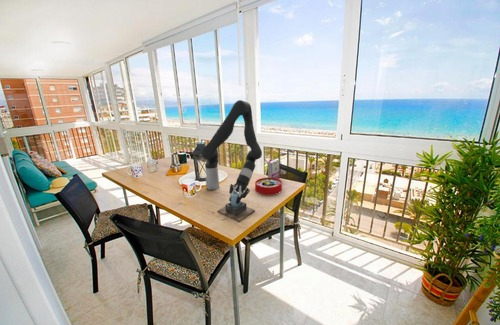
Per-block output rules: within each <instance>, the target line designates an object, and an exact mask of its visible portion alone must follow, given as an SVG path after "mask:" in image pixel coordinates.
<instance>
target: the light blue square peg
mask: <svg viewBox="0 0 500 325" xmlns="http://www.w3.org/2000/svg"><path fill="white" fill-rule="evenodd" d="M230 196H231V206H232V207H235V208H237V207H239V206H240V205H241V202H242V201H241V202H240V203H239V204H237V203H236V200H237V198H238V197H239V192H238V193H233V194H232V195H231V194H230Z"/></svg>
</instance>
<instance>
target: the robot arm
mask: <svg viewBox="0 0 500 325" xmlns="http://www.w3.org/2000/svg"><path fill="white" fill-rule="evenodd" d="M252 113H253V112H252V107H251V104H250V102H248V101H245V100H242V99H239V100H237V101H236V102H234V103H233V105H232V107H231V109H230V111H229V113H228V114H227V116H226V118H225V119H224V120H223V121H222V123H221V125H219V127H218V129H217V130H216V131H215V133H214V134H213V136H212V137H211V139H210V141H209V142H208V143H207V144H206V145H205V146H204V147H203V148H202V151H201V157H202V159H204V160H207V161H206V162H205V163H204V164H205V165H204V166H205V167H204V168H205V186H206V189H207V190H210V191H211V190H212V191H215V190H218V189H219V188H220V180H219V179H220V178H219V168H218V164H219V153H218V152H219V151H218V148H219V147H221V145H223V144H224V143H225V142H226V141H227V140H228V139H229V138H230V136H232V134H233V131H234V128H235V124H236V121H237V120H238V119H239V117H240V116H242V118H243V121H244V129H243V130H244V131H243V133H244V134H243V136H244V141H245V144H246V146H247V147H249V148H250V150H249V151H248V152H247V154H246V157H245V162H244V164H243V166H242V169H241V170H240V172H239V174H238V177H237V179H236V181H235V184H232V183H231V184H230V186H229V192H228V193H229V194H230V197H229V198H228V201H229V203H230V202H231V195H232V194H233V193H238V194H239V197H238V198H237V200H236V203H237V204H239V203H240V201H241V202H242V199H245V198H246V197H247V196H248V195H249V193H250V192H251V189H249V187H248V186H249V184H250V181H251V179H252V176H253V173H254V170H255V169H256V163H255V162H256V161H257V160H259V159H261V158H262V156H263V153H262V149H261V146H260V145H259V143H258V141H257V136H256V132H255V129H254V128H255V127H254V121H253V114H252Z"/></svg>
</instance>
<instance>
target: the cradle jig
mask: <svg viewBox="0 0 500 325" xmlns="http://www.w3.org/2000/svg"><path fill="white" fill-rule="evenodd" d="M240 202H241V205H240V206H239V207H237V208H235V207H232V206H231V202H230V201H229V202H228V203H226V204H225V205H224V206H223V207H221V208H219V209H218V210H217V213H219V214H222V215H223V216H225V217H227V218H230V219H231V220H232V219H233V220H234V221H236V222H238V223H240V222H241V221H243V220H245V219H246V218H247V217H249V216H251V215H253V213H255V212H256V210H255V209H254V208H252V207H248V206H247V203H246V202H243V201H242V200H241V201H240Z"/></svg>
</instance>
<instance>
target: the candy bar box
mask: <svg viewBox="0 0 500 325" xmlns="http://www.w3.org/2000/svg"><path fill="white" fill-rule="evenodd" d="M266 164H267V178H276V179H277V178H278V179H280V159H277V158H276V159H275V158H274V159H272V160H269V161H267V163H266Z"/></svg>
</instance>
